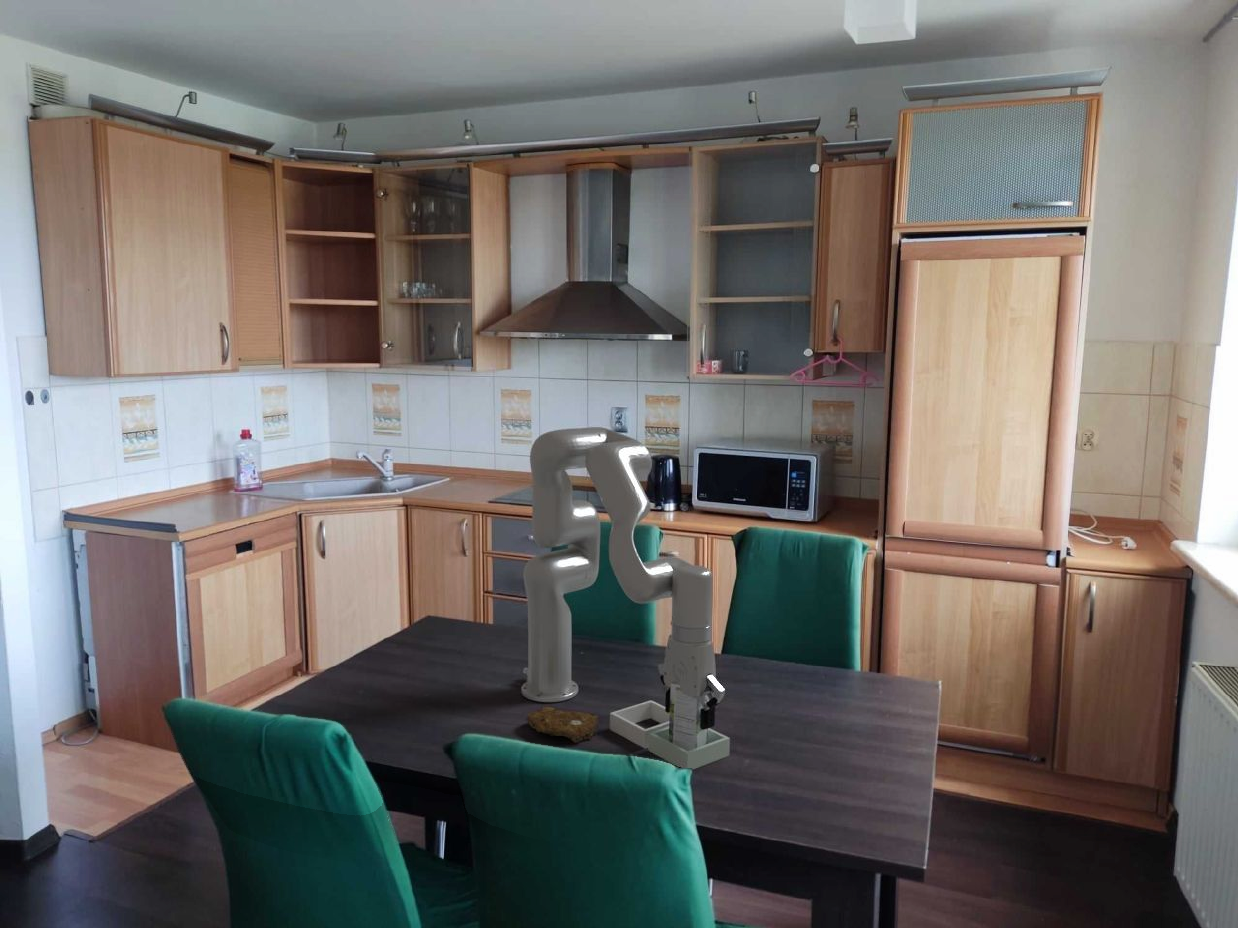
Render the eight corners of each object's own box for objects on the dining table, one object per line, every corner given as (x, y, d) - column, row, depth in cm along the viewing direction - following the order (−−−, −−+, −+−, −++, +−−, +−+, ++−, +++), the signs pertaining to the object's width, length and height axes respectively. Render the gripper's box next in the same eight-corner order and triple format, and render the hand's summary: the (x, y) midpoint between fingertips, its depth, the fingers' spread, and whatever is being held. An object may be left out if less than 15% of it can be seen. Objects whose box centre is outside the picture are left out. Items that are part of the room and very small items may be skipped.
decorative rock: (515, 741, 181) (588, 752, 177) (515, 722, 180) (589, 733, 177) (533, 715, 192) (603, 725, 188) (534, 697, 191) (603, 707, 188)
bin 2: (648, 750, 176) (648, 733, 176) (690, 735, 183) (690, 719, 182) (687, 771, 168) (687, 753, 167) (729, 755, 174) (729, 737, 174)
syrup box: (680, 743, 179) (682, 672, 177) (708, 750, 176) (710, 678, 174) (667, 755, 174) (669, 681, 172) (696, 762, 171) (697, 688, 169)
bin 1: (609, 729, 185) (610, 712, 185) (650, 716, 192) (651, 700, 192) (644, 748, 177) (645, 731, 176) (686, 733, 184) (686, 717, 183)
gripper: (646, 624, 176) (644, 709, 179) (709, 648, 163) (707, 740, 165) (675, 617, 181) (673, 700, 183) (739, 640, 168) (736, 729, 170)
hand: (689, 718), depth 174 cm, fingers open, 9 cm apart
